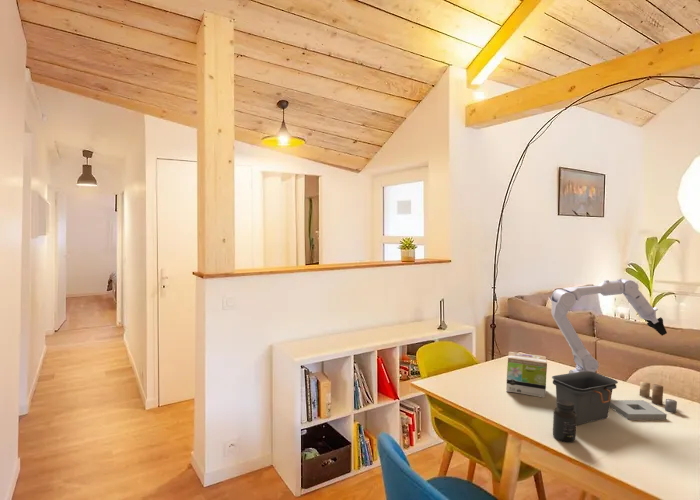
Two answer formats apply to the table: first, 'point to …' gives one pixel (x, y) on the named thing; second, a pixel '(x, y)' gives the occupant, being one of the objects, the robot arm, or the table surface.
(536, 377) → the tea box
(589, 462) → the table surface
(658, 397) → the long dowel
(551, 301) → the robot arm
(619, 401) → the hole board
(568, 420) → the supplement bottle
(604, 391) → the storage bin
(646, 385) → the medium dowel
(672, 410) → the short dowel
